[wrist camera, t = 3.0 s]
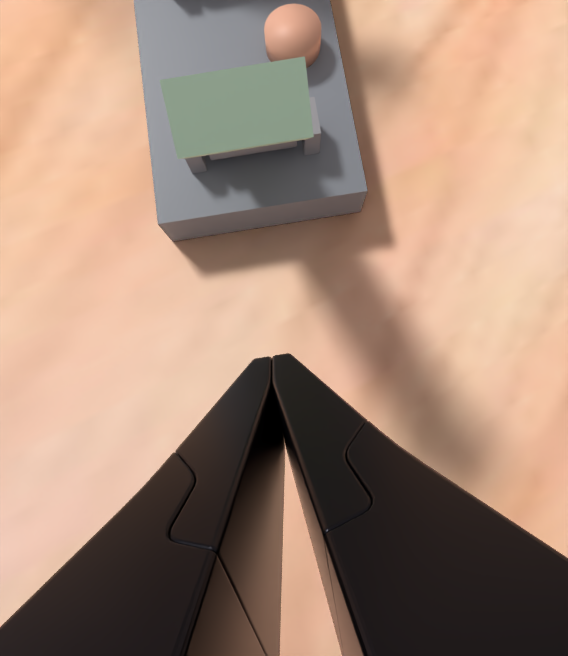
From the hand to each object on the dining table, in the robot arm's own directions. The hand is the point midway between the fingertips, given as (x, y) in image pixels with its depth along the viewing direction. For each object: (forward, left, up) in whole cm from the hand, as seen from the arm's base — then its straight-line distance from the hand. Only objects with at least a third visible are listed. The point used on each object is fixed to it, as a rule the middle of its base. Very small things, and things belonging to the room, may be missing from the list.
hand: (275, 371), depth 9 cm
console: (+12, -15, -13) cm, 23 cm away
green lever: (+8, -10, -10) cm, 16 cm away
